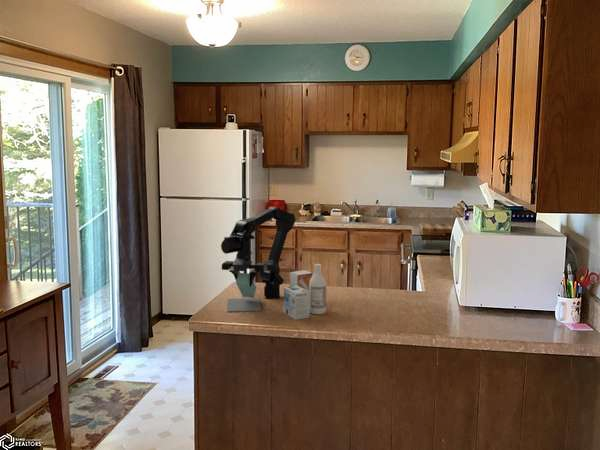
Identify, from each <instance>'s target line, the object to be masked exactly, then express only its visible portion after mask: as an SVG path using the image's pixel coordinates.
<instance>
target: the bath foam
mask: <svg viewBox="0 0 600 450" xmlns="http://www.w3.org/2000/svg"><path fill="white" fill-rule="evenodd" d="M313 269H314V272H313V273H312V277H311V279H310V282H309V291H310V297H309V314H313V315H323V314H325V313H326V311H327V281H326V279H325V277H324V275H323V274H322V264H321V263H315V264H314V266H313Z"/></svg>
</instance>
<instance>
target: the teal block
mask: <svg viewBox="0 0 600 450" xmlns="http://www.w3.org/2000/svg"><path fill="white" fill-rule="evenodd" d="M235 284H236V286H237V288H238V290H239V292H240V294H241V296H242V297H243V298H255V295H256V291H257V286H256V284H255V282H254V281H253V283H252V286H251V287H250V273H248V272H247V273H246V272H240V273H239V274H238V277H237V281H236V280H235Z"/></svg>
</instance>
